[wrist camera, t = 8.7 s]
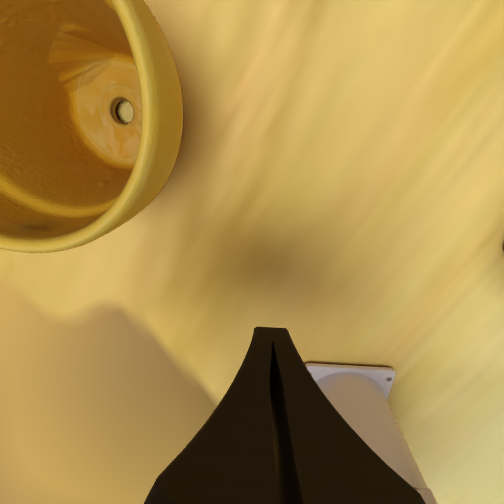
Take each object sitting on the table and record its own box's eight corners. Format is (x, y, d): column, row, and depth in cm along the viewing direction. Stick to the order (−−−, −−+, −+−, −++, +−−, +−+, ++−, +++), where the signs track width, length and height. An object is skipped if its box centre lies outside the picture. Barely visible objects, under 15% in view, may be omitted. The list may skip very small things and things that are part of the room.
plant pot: (24, -2, 15) (-352, -217, 6) (215, 16, 15) (143, -169, 6) (61, 191, 19) (-122, 243, 10) (210, 204, 19) (164, 269, 10)
